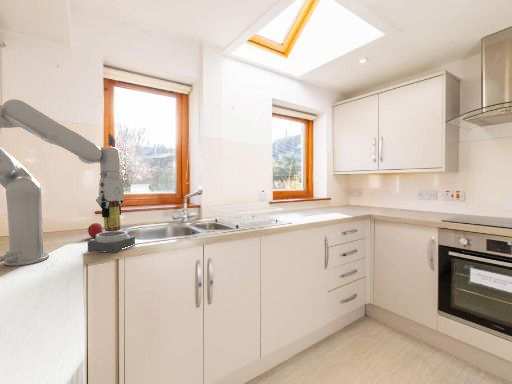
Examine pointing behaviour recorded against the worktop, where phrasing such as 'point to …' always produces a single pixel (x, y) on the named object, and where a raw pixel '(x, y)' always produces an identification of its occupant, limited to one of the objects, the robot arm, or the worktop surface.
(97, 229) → the tomato
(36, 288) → the worktop surface
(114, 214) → the sauce bottle
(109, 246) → the mount
